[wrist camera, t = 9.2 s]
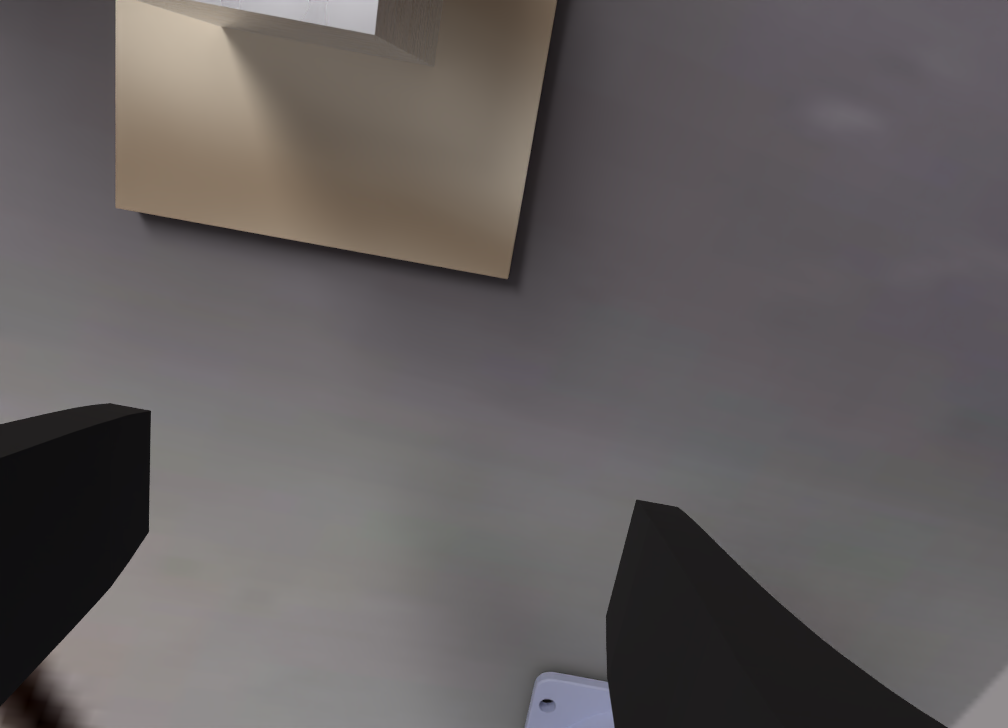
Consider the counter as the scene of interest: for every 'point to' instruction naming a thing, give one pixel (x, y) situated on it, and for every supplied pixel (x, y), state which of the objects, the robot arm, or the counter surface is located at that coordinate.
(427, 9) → the brushed gray cube
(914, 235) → the counter surface
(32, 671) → the robot arm
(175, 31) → the board
